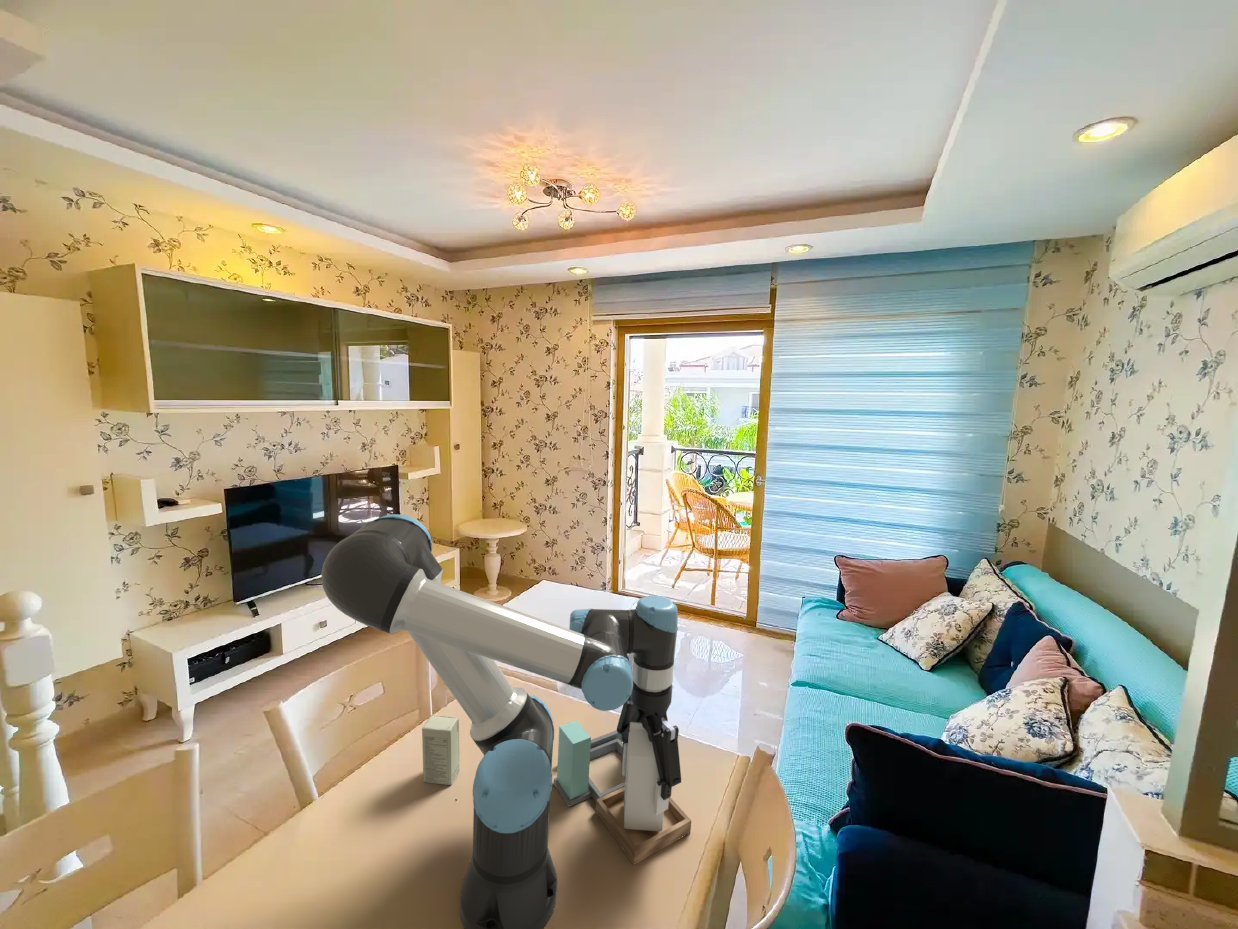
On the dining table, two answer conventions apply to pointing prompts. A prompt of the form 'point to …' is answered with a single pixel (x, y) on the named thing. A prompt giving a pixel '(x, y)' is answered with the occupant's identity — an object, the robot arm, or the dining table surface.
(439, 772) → the skincare box
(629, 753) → the milk carton
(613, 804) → the tray
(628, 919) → the dining table surface
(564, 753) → the holder
